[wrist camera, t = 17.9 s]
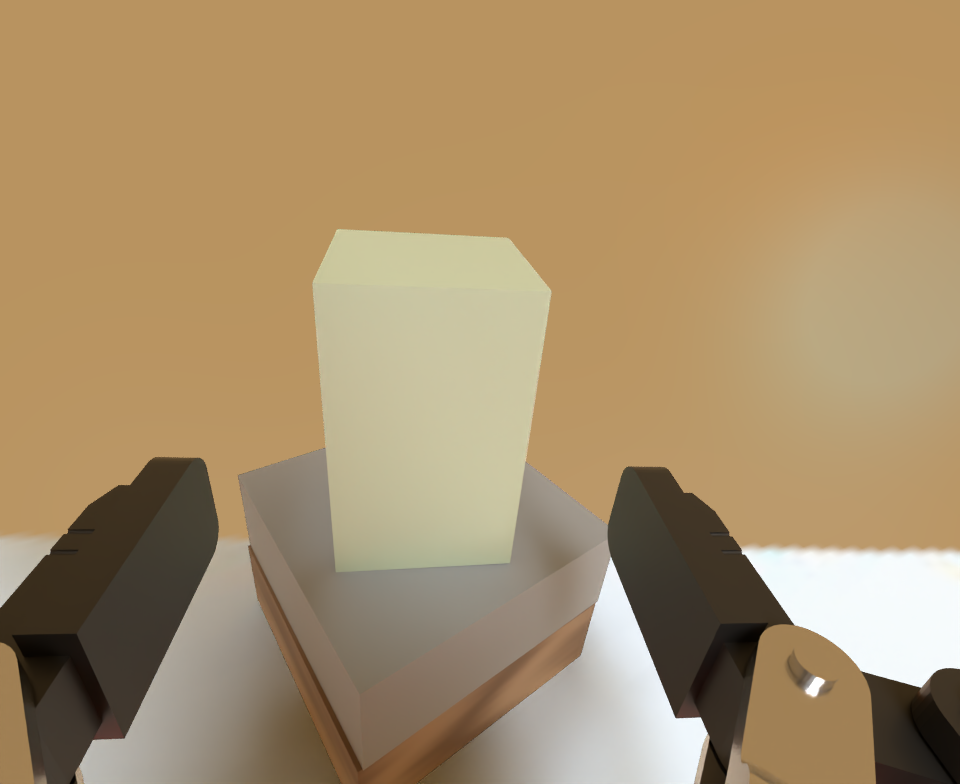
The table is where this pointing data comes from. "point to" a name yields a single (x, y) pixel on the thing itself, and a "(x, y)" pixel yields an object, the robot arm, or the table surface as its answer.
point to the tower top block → (416, 601)
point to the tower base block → (446, 734)
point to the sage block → (426, 395)
